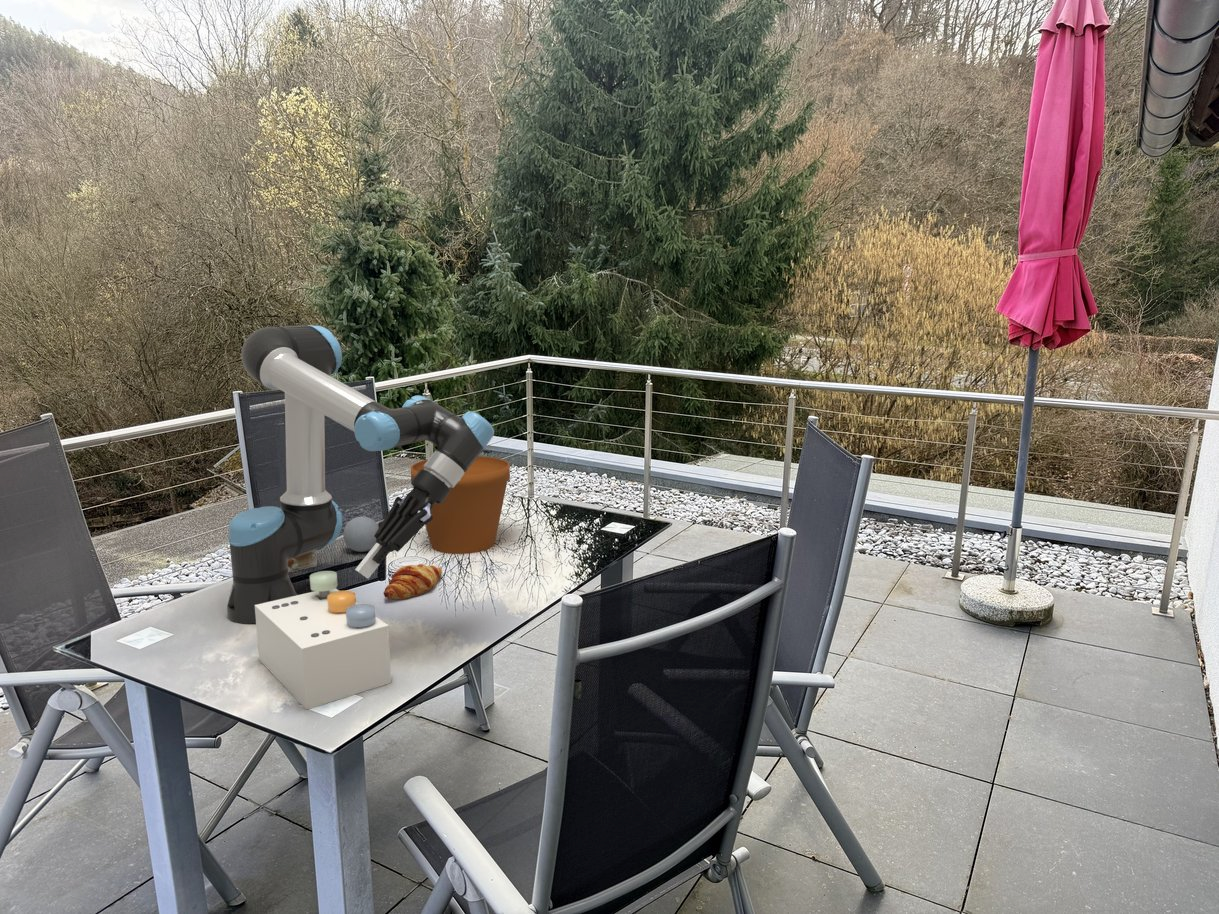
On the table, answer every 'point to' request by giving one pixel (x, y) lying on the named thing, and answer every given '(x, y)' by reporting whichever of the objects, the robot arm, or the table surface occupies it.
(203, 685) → the table surface
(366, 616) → the button slate
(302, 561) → the coffee box
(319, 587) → the button sage
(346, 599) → the button orange
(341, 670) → the console
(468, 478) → the flowerpot
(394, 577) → the croissant
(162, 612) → the table surface
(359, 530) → the grey ball
